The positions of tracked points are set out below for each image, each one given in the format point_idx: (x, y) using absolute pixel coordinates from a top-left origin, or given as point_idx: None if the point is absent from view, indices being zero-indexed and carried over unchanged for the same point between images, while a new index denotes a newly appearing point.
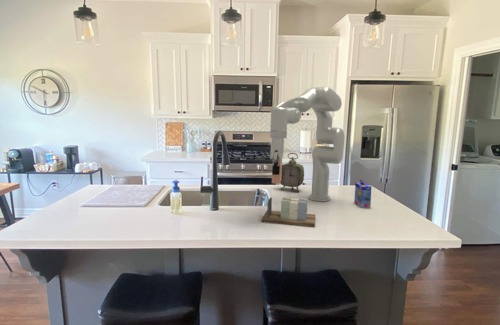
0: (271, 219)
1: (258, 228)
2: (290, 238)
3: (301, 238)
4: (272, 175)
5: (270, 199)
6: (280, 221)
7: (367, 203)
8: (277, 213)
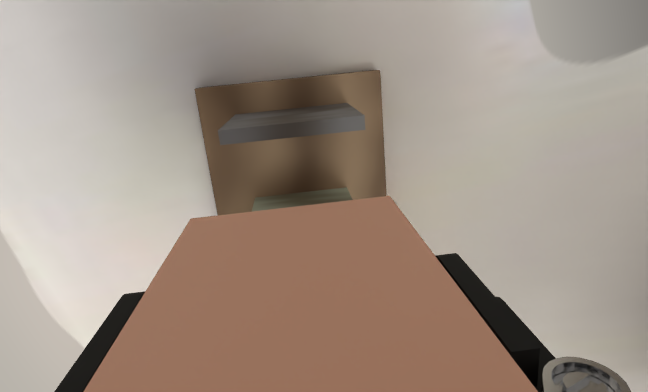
0: (212, 151)
1: (87, 100)
2: (49, 289)
3: (78, 332)
4: (160, 275)
5: (302, 134)
6: (217, 204)
7: None
8: (338, 157)
